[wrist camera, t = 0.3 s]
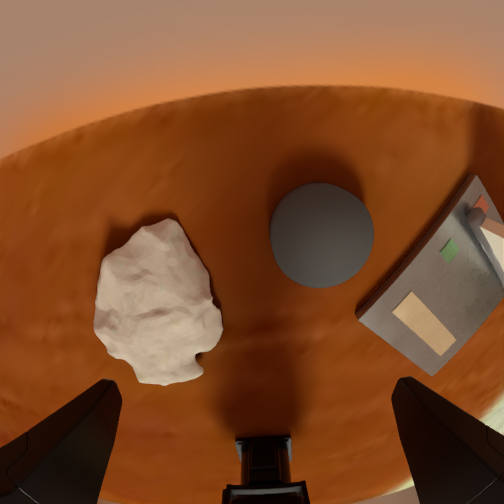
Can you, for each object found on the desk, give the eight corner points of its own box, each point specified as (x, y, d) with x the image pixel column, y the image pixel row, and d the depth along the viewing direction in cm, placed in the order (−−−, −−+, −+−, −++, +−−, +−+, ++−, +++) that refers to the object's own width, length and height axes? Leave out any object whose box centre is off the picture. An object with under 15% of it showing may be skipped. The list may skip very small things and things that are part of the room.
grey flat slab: (428, 371, 26) (432, 377, 25) (354, 313, 23) (358, 320, 22) (517, 264, 22) (523, 268, 21) (469, 173, 19) (477, 174, 18)
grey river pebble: (360, 268, 22) (371, 281, 20) (273, 278, 22) (275, 293, 20) (360, 179, 20) (373, 183, 18) (264, 185, 20) (266, 190, 18)
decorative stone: (219, 376, 26) (228, 218, 23) (222, 403, 23) (233, 226, 19) (109, 369, 24) (93, 212, 21) (99, 394, 21) (74, 220, 17)
